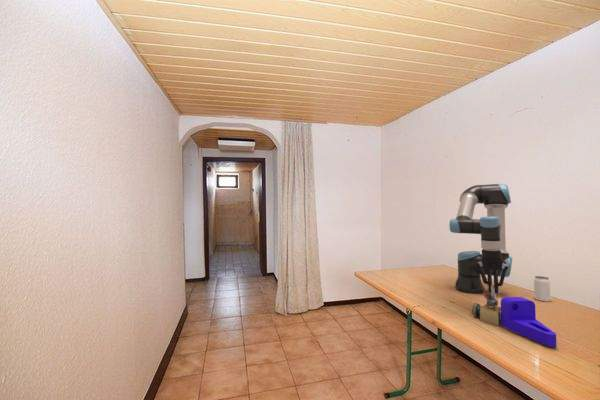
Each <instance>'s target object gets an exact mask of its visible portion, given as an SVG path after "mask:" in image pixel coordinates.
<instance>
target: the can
mask: <svg viewBox="0 0 600 400" xmlns="http://www.w3.org/2000/svg"><path fill="white" fill-rule="evenodd" d="M533 284H534V285H533V290H534V291H533V292H534V299H535V300H536V301H539V302H544V301H545V302H547V303H548V301H549V302H551V280H550V278H549V277H547V276H543V275H542V276H540V275H535V276H534V279H533ZM545 302H544V303H545Z"/></svg>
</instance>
